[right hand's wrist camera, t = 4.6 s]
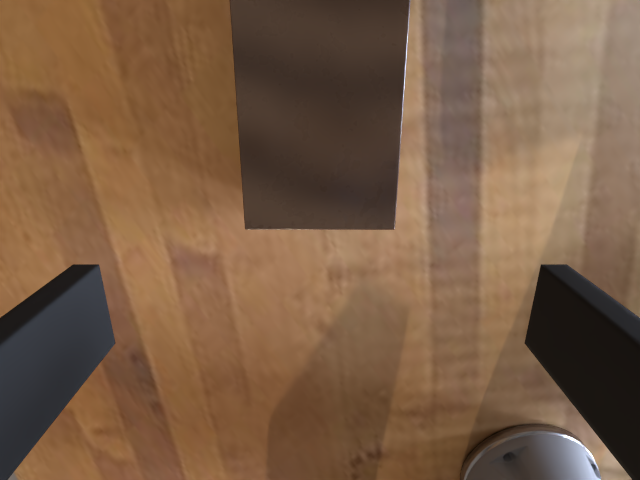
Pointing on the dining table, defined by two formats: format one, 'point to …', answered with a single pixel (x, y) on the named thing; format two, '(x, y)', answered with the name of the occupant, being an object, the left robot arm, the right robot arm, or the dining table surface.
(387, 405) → the dining table surface
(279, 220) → the cabinet
